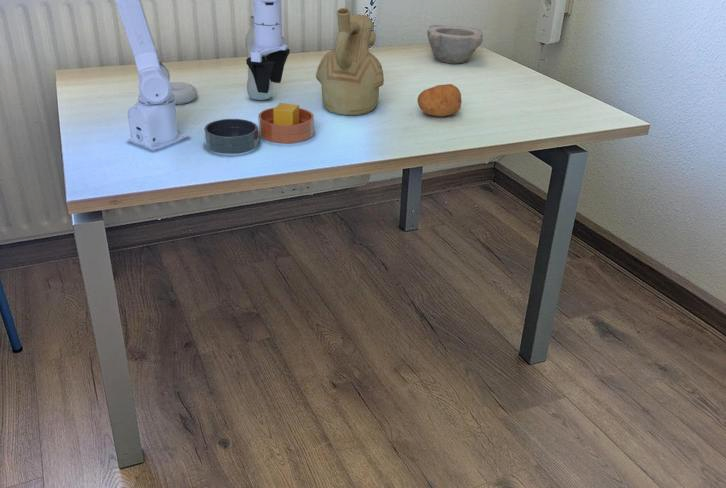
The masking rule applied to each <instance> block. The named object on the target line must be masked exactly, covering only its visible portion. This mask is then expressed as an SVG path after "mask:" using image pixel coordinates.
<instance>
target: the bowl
mask: <svg viewBox="0 0 726 488" xmlns="http://www.w3.org/2000/svg"><path fill="white" fill-rule="evenodd" d="M274 108H275V107H270V108H267V109H264V110H262V111H260V112H259V113H258V116H257V119H258V136H259V137H260V138H262V139H263V140H265V141H267V142H271V143H276V144H296V143H302V142H305V141H307V140H310V139H311V138H312V137H314V135H315V133H314V132H315V115H314V114H313V112H312V111H309V110H308V109H305V108H302V107H299V124H295V125H278V124H274V116H273V109H274Z"/></svg>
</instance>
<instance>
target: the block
mask: <svg viewBox="0 0 726 488" xmlns="http://www.w3.org/2000/svg"><path fill="white" fill-rule="evenodd" d="M273 108H274V109H273V116H274V124H278V125H295V124H299V108H300V105H299V104H294V103H293V104H292V103H284V102H279V103H278V104H277V105H276V106H275V107H273Z"/></svg>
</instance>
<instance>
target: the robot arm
mask: <svg viewBox="0 0 726 488" xmlns="http://www.w3.org/2000/svg"><path fill="white" fill-rule="evenodd" d="M114 2H115V4H116V8H117V10H118V14H119V17H120V19H121V23H122V26H123V29H124V31H125V35H126V37H127V40H128V43H129V47H130V49H131V53H132V55H133V58H134V62H135V67H136V70H137V74H138V92H139V94H138V96H137V98H138V100H137V102H136V103H135V104H134V105H132V106H130V107H129V108H128V111H127V120H128V126H129V134H130V138H129V139H128V142H129V143H135V144H137V145H140V146H143V147H146V148H148V149H151V150H157V149H159V148H162V147H165V146H168V145H170V144H173V143H175V142H177V141H181V140H183V139H185V138H188V135H187V134H184V133H181V132H179V129H178V117H177V109H176V104H175V99H174V95H173V94H172V93H171V84H170V83H171V82H170V79H171V75H170V71H169V69H168V68H167V67H166V65H164V63H163V62H162V60H161V59H160V54H159V52H158V49H157V48H156V44H155V41H154V38H153V35H152V32H151V29H150V25H149V23H148V19H147V17H146V16H147V15H146V13H145V10H144V7H143V3H142V0H114ZM252 7H253V8H252V9H253V16H254V40H255V43H254V45H253V51H252V52H251V57H249V58H248V57H247V58H246V61H245V62H246V65H247V66H248V67H249V68H250V70H251V72H252V74H253V77H254V80H255V83H256V87H257V90H258V92H260V93H268V91H269V84H270V80H271V82H272V83H275V84H281V82H282V79H283V73H284V69H285V65H286V62H287V59H288V57H289V55H290V53H291V52H290V51H291V50H290V48H289V47H288V44H286V37H285V36H283V19H282V16H283V15H282V14H283V12H282V10H283V9H282V8H283V7H282V0H252Z"/></svg>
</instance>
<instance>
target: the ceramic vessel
mask: <svg viewBox="0 0 726 488" xmlns="http://www.w3.org/2000/svg"><path fill="white" fill-rule="evenodd" d="M336 18H337V26H338V31H337V36H336V39H335V48H334V49H331V50H330V51H329V52H327V53H326V54H325V55H324V56H322V58H321V60H320V62H319V64H318V65H317V70H316V74H315V78H316V80H317V81H318V83H320V85H321V100H322V104H323V106H324V108H325V109H326V110H328V112H330V113H334V114H337V115H342V116H362V115H366V114H368V113H370V112H372V111H373V110H374V109H375V108H376V106H377V105H378V103H379V102H378V101H379V97H380V87H382V86H383V85H384V83H385V79H384V71H383V67H382V64H381V62H380V60H379V58H377V57H376V56H375V55H374V54H373V53H372V52H370V50H369V49H370V48H371V47H370V46H374V45H375V44H376V39H377V32H376V31H375V30H374V31H373V29H374V28H375V25H374V23H373V21H372V19H371V18H370V17H368V16H367V15H365V14H361V13H356V14H353V15H351V10H350V9H349V8H345V7H341V8H339V9H337V10H336Z"/></svg>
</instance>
